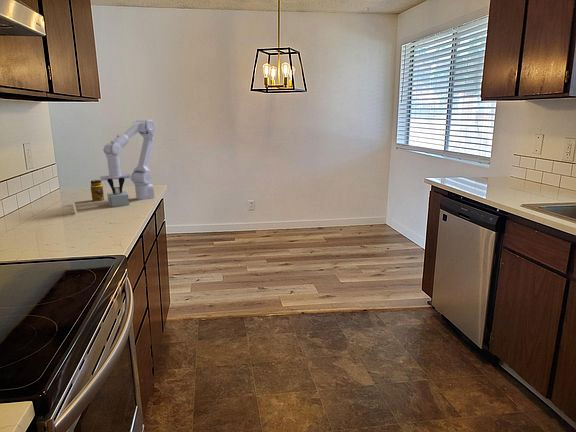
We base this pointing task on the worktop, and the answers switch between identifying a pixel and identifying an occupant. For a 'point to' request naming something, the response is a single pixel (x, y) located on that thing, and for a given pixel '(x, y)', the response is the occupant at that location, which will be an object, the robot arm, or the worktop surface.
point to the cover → (118, 198)
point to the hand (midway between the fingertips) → (117, 193)
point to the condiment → (97, 190)
